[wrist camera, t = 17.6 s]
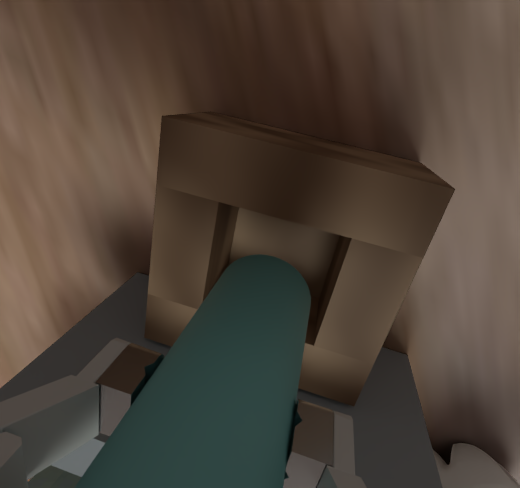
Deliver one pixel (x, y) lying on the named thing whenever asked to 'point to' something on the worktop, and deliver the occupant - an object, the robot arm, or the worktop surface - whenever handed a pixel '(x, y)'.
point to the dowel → (218, 391)
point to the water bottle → (472, 469)
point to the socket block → (291, 233)
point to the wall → (363, 413)
